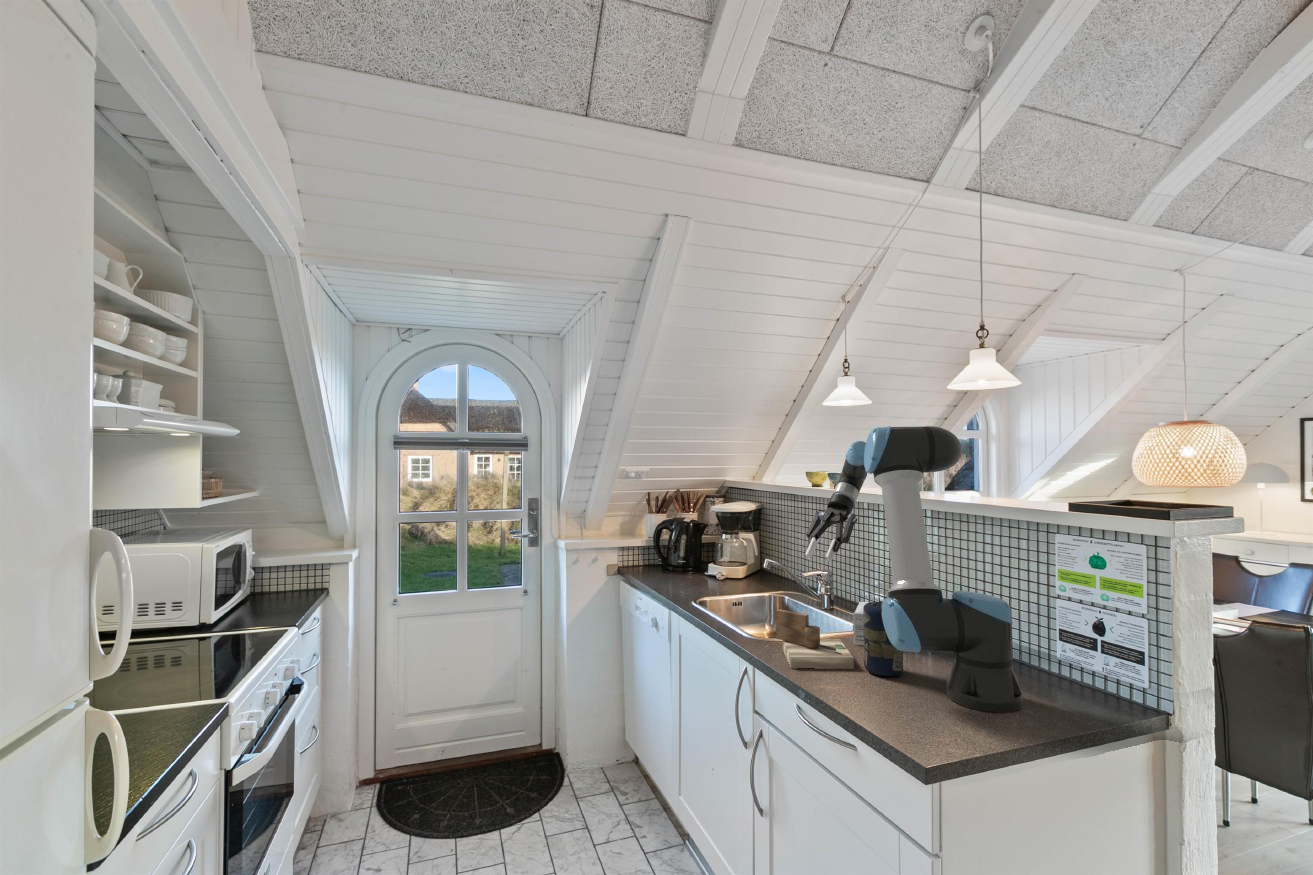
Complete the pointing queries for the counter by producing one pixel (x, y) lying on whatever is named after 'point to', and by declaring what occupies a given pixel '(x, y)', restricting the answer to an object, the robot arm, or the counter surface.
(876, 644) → the canister
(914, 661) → the counter surface
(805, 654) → the dial board
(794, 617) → the brown stepped wooden block
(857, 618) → the supplement box
